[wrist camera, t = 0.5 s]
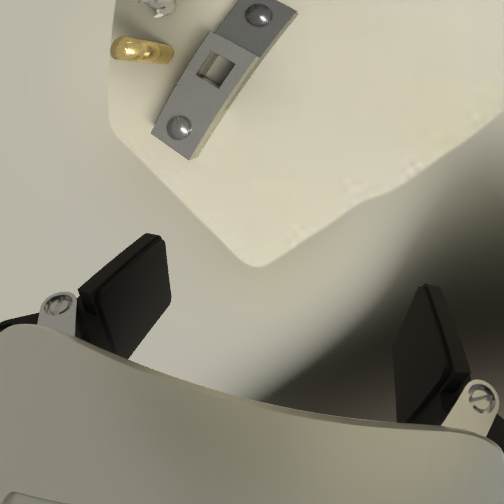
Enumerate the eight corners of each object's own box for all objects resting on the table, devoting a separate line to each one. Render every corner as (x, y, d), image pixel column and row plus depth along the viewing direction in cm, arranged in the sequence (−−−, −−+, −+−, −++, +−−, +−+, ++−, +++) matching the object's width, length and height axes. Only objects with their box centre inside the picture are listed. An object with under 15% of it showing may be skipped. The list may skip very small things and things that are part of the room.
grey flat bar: (252, -9, 26) (244, -18, 23) (298, 14, 26) (294, 6, 23) (161, 130, 38) (148, 133, 35) (198, 156, 39) (186, 161, 36)
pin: (156, 46, 32) (111, 38, 24) (174, 44, 32) (131, 33, 23) (155, 65, 34) (109, 61, 25) (173, 63, 33) (129, 57, 25)
